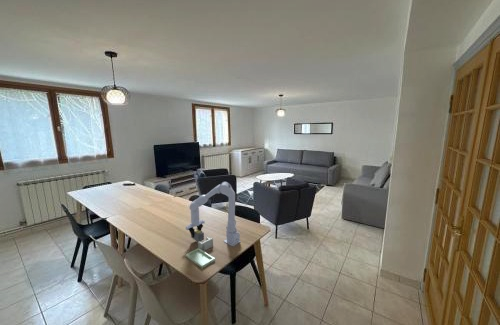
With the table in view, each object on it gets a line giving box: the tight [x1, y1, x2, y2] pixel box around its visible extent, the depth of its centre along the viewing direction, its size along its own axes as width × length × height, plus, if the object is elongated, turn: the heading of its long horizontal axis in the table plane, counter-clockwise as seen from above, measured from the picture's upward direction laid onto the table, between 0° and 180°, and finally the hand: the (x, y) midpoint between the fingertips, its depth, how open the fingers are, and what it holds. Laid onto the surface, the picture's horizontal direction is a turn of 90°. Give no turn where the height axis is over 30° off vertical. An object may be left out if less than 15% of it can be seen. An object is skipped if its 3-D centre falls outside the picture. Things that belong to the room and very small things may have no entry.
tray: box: [185, 248, 216, 269], centre depth 125 cm, size 17×10×2 cm, turn 49°
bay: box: [197, 236, 214, 252], centre depth 138 cm, size 6×8×6 cm
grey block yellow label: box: [190, 227, 205, 242], centre depth 143 cm, size 9×5×6 cm, turn 49°
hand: (195, 235), depth 145 cm, fingers closed on grey block yellow label, 5 cm apart
